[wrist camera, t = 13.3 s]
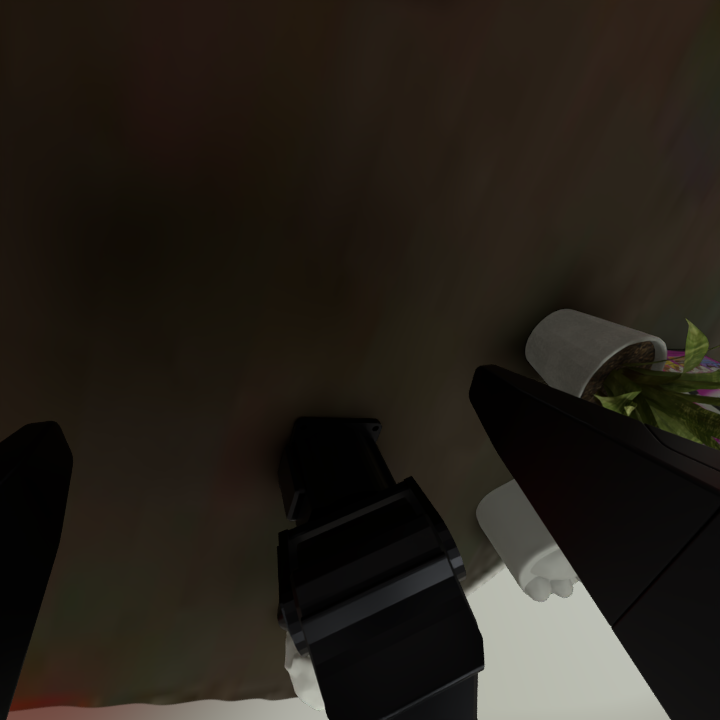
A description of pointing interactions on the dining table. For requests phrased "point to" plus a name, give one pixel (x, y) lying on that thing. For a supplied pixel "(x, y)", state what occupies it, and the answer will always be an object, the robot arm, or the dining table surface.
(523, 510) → the lumpy-topped squat cylinder
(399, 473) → the dining table surface
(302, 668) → the penguin figurine
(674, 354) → the candy bar box
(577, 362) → the house plant
